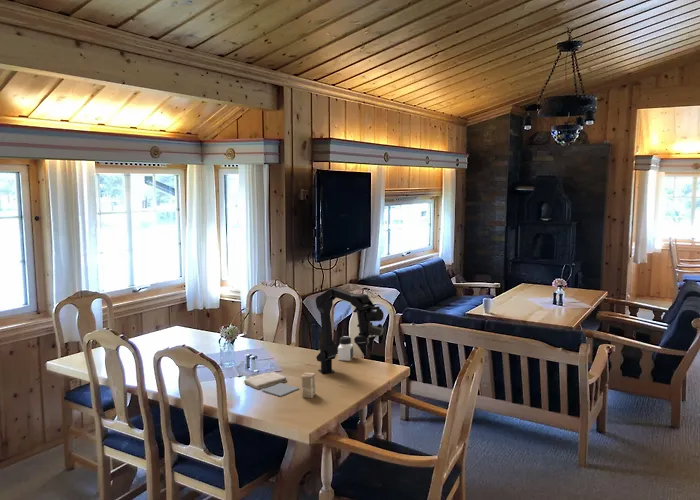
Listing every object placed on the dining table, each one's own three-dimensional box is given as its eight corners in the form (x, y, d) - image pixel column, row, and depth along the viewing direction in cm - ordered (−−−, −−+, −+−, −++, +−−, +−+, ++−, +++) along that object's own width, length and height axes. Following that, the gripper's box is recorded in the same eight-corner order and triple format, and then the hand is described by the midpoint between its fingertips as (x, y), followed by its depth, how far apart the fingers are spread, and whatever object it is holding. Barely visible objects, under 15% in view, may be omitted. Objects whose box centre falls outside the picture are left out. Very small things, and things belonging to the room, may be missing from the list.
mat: (280, 384, 283) (280, 382, 283) (298, 389, 275) (298, 388, 275) (262, 391, 274) (262, 390, 274) (280, 396, 266) (280, 395, 266)
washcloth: (288, 381, 287) (288, 375, 287) (257, 390, 276) (256, 384, 275) (274, 376, 296) (274, 370, 296) (243, 384, 284) (243, 378, 284)
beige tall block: (304, 393, 270) (304, 372, 269) (315, 393, 269) (314, 373, 268) (301, 397, 265) (301, 376, 264) (312, 397, 264) (311, 376, 263)
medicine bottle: (350, 360, 317) (350, 339, 315) (337, 360, 318) (337, 338, 317) (353, 356, 324) (352, 335, 322) (340, 356, 325) (340, 335, 324)
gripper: (374, 323, 267) (379, 357, 267) (385, 316, 285) (390, 348, 285) (351, 325, 271) (356, 358, 271) (363, 318, 288) (368, 350, 289)
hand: (368, 353), depth 279 cm, fingers open, 9 cm apart
